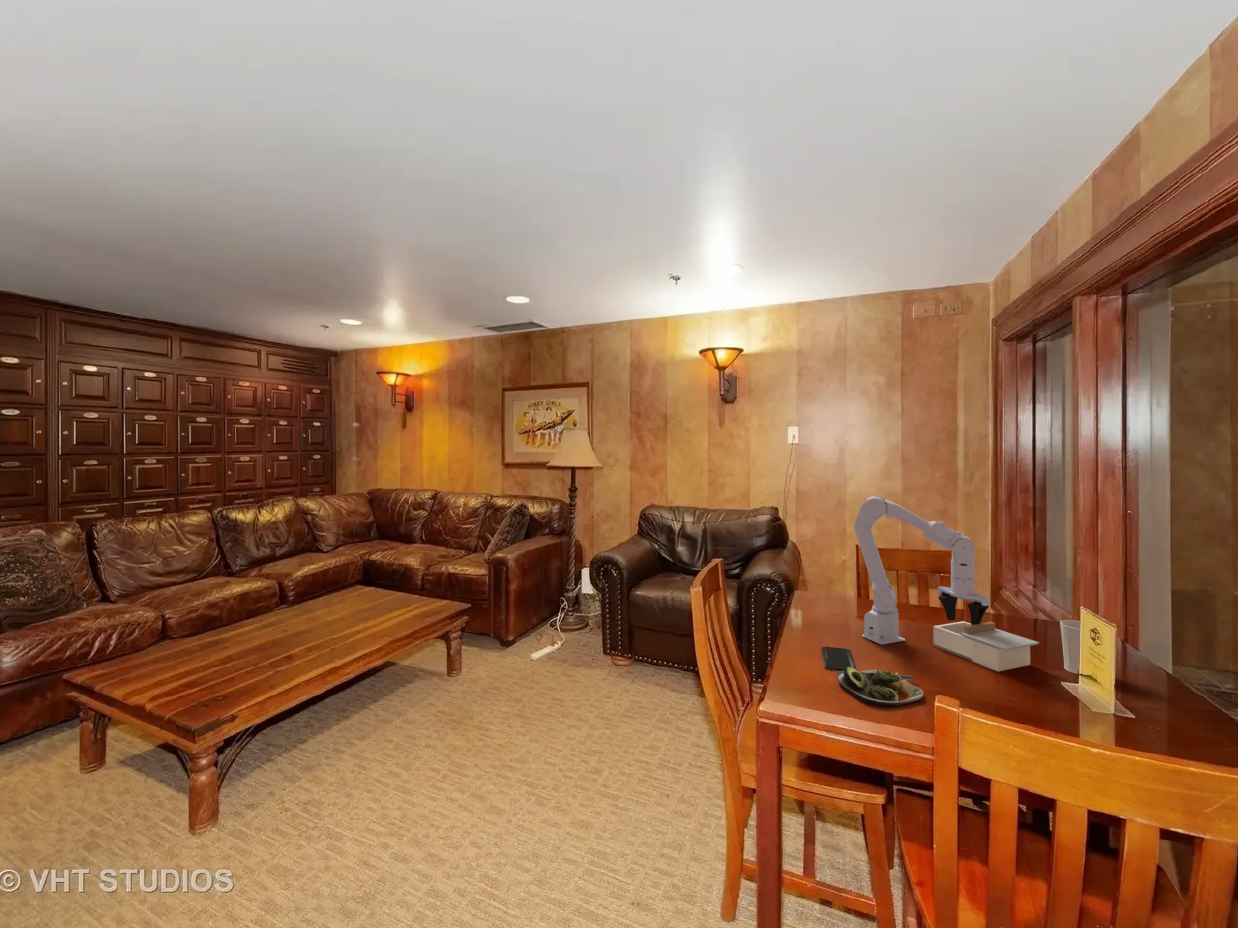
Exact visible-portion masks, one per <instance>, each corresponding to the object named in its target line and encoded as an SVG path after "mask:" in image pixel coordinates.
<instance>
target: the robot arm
mask: <svg viewBox="0 0 1238 928" xmlns="http://www.w3.org/2000/svg"><path fill="white" fill-rule="evenodd" d="M883 516H885V517H886V518H888V519H890V518H893V519H894V518H897V519H899V520H900V521H902V522H905V523H907V524H909V525H910V526H913V527H914V528H916V529H919V530H921V531H922V532H923V536H924V537H925V538H926V539H928V540H930V541H931V542H933V543H936V544H937V545H939V546H941V547H942V548H945V549H947V550H948V549H949V550H950V551H951V560H950V582H951V583H950V587H947V586H943V585H942V586H937V594H941V595H938V600H939V601H940V603H941V604H942V607H943V608H944V612H945V614H946V618H947V620H948V621H954V620H956V610H957V609H956V606H957V603H958V599H961V600H965V601H968V602H972V603H967V607H968V610H969V615H970V624H971V625H974V624H980V623H982V619H983V618H984V616H985V613H986V612H987V610H988V609H989V607H990V606H991V603H990V602H991V599H990V598H989V597H985V596H983V595H981V594H979V593H976V590H975V589H976V588H975V577H976V576H975V571H976V570H975V568H976V567H975V562H974V561H975V556H974V555H976V552H977V548H976V545H975V543H974V542H973V540H972V539H971V538H970V537H968V536H967V535H966V534H963V533H962V532H961V531H959V530H957V531H956V530H954V529H952V528H950V527H948V526H947V525H946V523H945V522H943V521H942V520H941V521H937V520H933V521H928V520H926V519H924V518H922V517H920V516H919V515H918V514H915V513H913V512H912V511H910V510H909V509H907V508H905V507H903V506H902V505H900V504H899V503H895V502H893V501H891V500H889V499H884V498H883V497H882V496H879V495H871V496H868V497H867V498H866V499H865V501H864V502H863V503H862V504H861V506H860V508H859V510H858V513H857V516H856V518H855V520H854V524H853V529H854V531H855V536H856V538H857V542H858V544H859V548H860V550H861V555H862V557H863V560H864V563H865V567H866V569H867V570H866V571H867V573H868V576H869V579H870V582H871V586H872V588H871V589H872V592H873V601H872V603H873V605H872V607H871V610H870V611H868V612H866V613H865V614H864V617H863V634H862V635H861V636H862V638H863V637H864V639H865V638H866V639H867V640H870V641H873V642H875V643H877V644H879V645H883V646H884V645H888V644H894V643H899V642H905V641H906V639H905V638H904V637H901V636H899V608H897V592H896V590H895V589H894V588H893V587H892V585H890V581H889V579H888V576H887V574H886V571H885V567H884V565H883V562H882V559H881V555H880V553H879V549H878V547H877V543H876V540H875V537H874V534H873V530H872V528H873V526H874V525H875V524H876V522H877V521H879V520H880V519H881V518H882V517H883Z"/></svg>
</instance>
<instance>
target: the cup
mask: <svg viewBox="0 0 1238 928" xmlns="http://www.w3.org/2000/svg"><path fill="white" fill-rule="evenodd" d="M1080 621H1081V620H1072V619H1071V620H1070V619H1064V620H1063V619H1062V620H1060V621H1059V624H1060V634H1061V643H1062V653H1063V664H1064V665H1063V668H1064V670H1066V671H1068V672H1069V673H1072V674H1076V675H1079V674H1078V671H1079V656H1080Z"/></svg>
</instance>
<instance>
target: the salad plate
mask: <svg viewBox="0 0 1238 928" xmlns="http://www.w3.org/2000/svg"><path fill="white" fill-rule="evenodd" d="M834 673H836V674H837V675H838V677H837V682H838V684H839V685H840V687H841V689H842V690H844V691H845V692H847V694H849V695H851V696H853V697H854V698H856V699H857V700H858V701H860V702H863V703H865V704H867V705H871V706H874V707H875V706H876V707H882V708H883V707H884V708H885V707H888V708H889V707H890V708H891V707H899V706H901V705H906V704H907V705H908V704H910V703H913V702H915V701H918V700H921V699H922V698H923V697H924V696H925V695H924V691H923V690H922V689H921V688H920V687H917V686H916V685H914V684H912V683H910V682H908V681H911V680H914V679H915V677H914V676H913V675H908V674H906V675H905V674H899V672H898V671H896V672H895V673H892V672H891V671H890V670H888V671H886V670H879V669H869V670H863V671H860V670H858V669H855V668H853V667H847V668H846V669H845V671H836V670H835V671H834ZM898 692H902V693H906V694H907V695H908V697H907V698H906V699H904V700H900V701H899V695H898Z"/></svg>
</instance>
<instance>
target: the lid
mask: <svg viewBox="0 0 1238 928" xmlns="http://www.w3.org/2000/svg"><path fill="white" fill-rule="evenodd" d="M960 635H962V636H965V637H968V638H970V639H973V640H976V641H979V642H982V643H985V644H988V645H990V646H993V647H996V648H999V649H1002V650H1005V651H1007V650H1012V649H1017V648H1022V647H1027V646H1030V647H1031V646H1036V645H1039V644H1040V642H1039V641H1036V640H1032V639H1030V638H1026V637H1023V636H1020V635H1017V634H1014V633H1011V632H1007V631H1005V630H1001V629H998V628H996V623H995V622H993V621H987V622H980V624H974V625H968V626H965V632H964V633H960Z"/></svg>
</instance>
